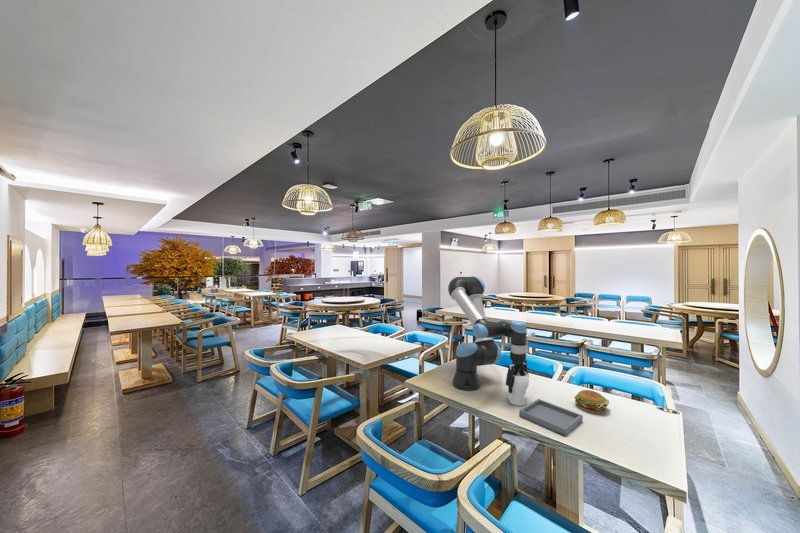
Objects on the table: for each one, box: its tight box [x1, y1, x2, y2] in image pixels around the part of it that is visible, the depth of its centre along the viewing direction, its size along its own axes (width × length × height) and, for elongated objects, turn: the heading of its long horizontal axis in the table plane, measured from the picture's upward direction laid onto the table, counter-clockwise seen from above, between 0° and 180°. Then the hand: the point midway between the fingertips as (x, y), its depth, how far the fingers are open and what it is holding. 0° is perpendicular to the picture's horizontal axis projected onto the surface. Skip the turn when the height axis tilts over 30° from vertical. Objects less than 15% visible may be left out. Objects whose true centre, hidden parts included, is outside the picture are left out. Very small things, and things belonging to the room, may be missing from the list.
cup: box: [505, 371, 530, 407], centre depth 152 cm, size 11×11×15 cm
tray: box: [518, 398, 584, 437], centre depth 136 cm, size 20×18×3 cm
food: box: [573, 389, 610, 414], centre depth 146 cm, size 14×14×8 cm
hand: (517, 395), depth 152 cm, fingers closed on cup, 10 cm apart
